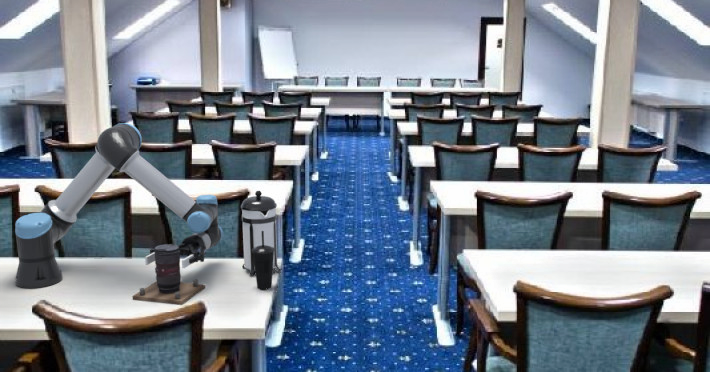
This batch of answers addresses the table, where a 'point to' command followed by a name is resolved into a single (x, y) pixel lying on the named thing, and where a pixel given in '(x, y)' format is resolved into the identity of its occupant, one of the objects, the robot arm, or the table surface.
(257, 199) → the coffee press
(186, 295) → the board
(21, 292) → the table surface
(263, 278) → the drinking cup
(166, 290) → the camera lens
